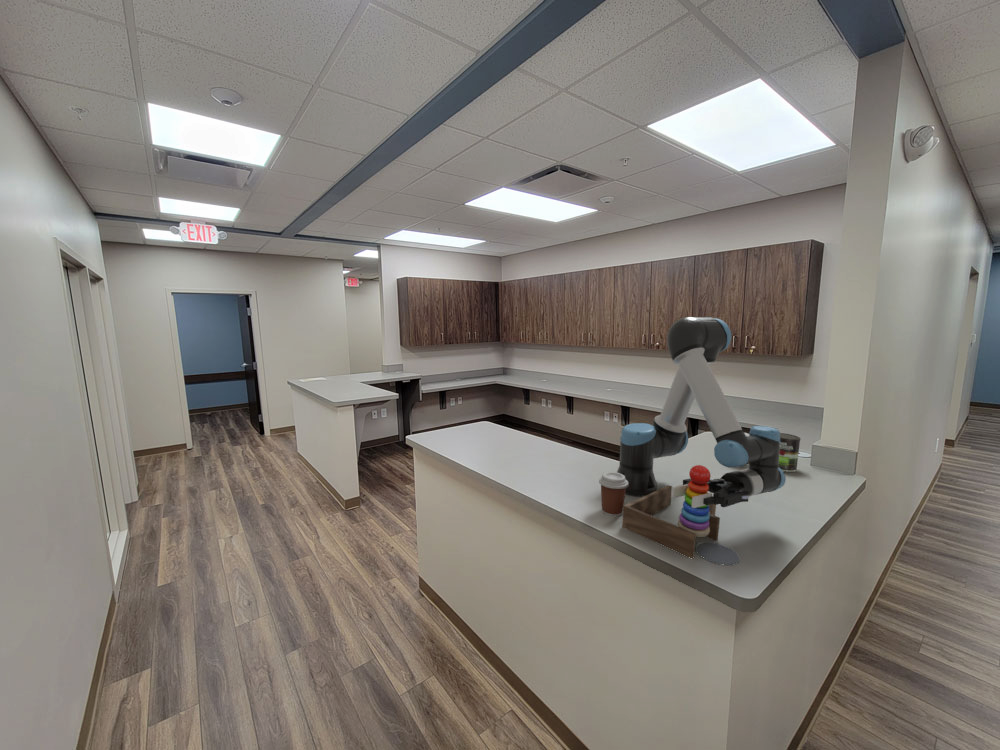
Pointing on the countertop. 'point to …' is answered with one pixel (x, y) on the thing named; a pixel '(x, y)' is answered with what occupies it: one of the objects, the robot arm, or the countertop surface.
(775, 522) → the countertop surface
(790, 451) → the coffee can
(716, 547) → the pad
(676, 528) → the brown open angular frame
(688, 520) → the stacking toy
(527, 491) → the countertop surface
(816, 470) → the countertop surface
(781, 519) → the countertop surface
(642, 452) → the robot arm
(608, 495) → the coffee cup
